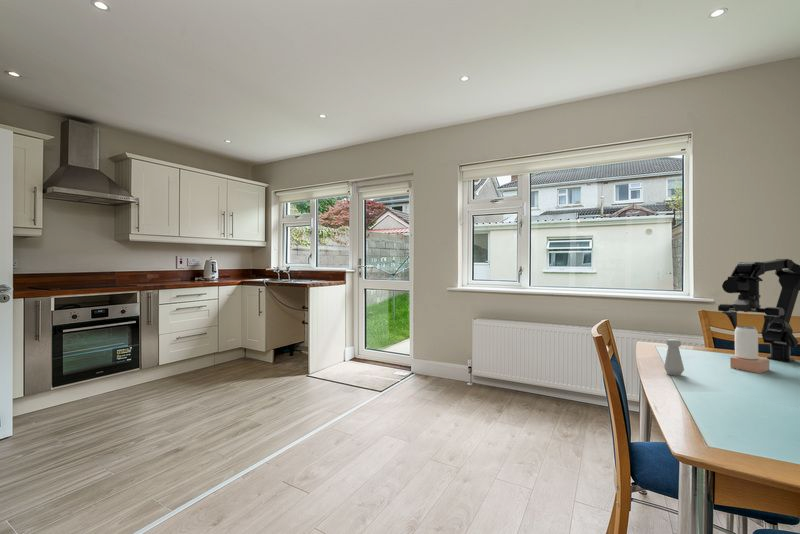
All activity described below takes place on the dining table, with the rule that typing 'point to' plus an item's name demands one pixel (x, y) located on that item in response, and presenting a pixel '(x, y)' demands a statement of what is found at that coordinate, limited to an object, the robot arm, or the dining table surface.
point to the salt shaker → (673, 358)
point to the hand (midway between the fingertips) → (749, 330)
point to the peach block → (750, 364)
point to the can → (746, 342)
